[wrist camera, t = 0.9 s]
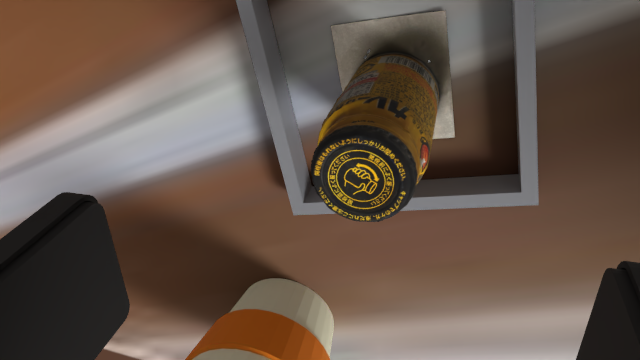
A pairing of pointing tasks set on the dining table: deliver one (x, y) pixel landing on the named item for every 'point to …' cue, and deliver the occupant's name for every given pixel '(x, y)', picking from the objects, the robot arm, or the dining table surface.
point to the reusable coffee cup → (271, 326)
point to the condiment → (384, 114)
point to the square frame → (427, 192)
